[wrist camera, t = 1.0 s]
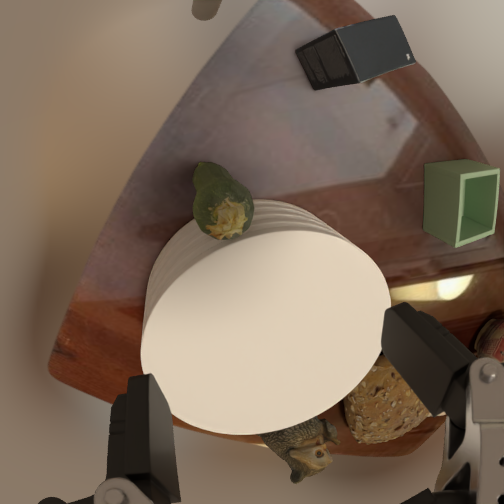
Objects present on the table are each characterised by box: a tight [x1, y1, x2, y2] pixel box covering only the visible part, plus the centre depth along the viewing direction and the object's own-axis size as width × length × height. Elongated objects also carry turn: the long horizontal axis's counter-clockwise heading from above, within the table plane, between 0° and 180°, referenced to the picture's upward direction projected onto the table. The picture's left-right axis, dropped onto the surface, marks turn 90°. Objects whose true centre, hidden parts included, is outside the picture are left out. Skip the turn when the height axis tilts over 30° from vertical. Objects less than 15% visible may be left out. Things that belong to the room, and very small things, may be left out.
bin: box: [423, 159, 500, 248], centre depth 40 cm, size 11×11×8 cm
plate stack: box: [141, 199, 391, 435], centre depth 37 cm, size 28×28×12 cm
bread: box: [343, 355, 430, 444], centre depth 52 cm, size 24×21×12 cm
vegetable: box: [192, 162, 255, 240], centre depth 26 cm, size 4×4×20 cm
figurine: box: [256, 416, 340, 484], centre depth 47 cm, size 14×15×15 cm
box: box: [296, 15, 416, 90], centre depth 27 cm, size 8×6×11 cm
